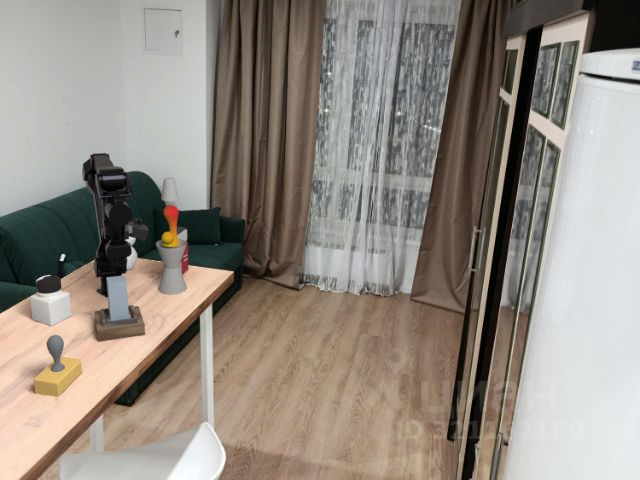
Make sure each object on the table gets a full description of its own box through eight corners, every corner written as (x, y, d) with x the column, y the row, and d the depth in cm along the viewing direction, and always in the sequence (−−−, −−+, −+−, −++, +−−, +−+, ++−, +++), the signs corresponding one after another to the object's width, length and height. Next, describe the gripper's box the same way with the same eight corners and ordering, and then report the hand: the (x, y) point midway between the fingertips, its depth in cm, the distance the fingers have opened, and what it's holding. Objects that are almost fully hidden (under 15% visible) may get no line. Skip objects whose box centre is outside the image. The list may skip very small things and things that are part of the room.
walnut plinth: (95, 321, 162) (93, 307, 161) (139, 315, 167) (138, 302, 165) (98, 341, 152) (97, 327, 151) (145, 334, 157) (144, 320, 155)
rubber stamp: (59, 369, 139) (55, 323, 135) (83, 373, 139) (78, 327, 135) (34, 393, 130) (28, 345, 126) (59, 397, 129) (53, 348, 125)
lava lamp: (170, 280, 190) (166, 173, 178) (193, 286, 187) (191, 177, 175) (151, 290, 182) (146, 179, 171) (175, 297, 179) (171, 183, 167)
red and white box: (175, 282, 189) (174, 238, 184) (163, 280, 190) (161, 236, 185) (189, 269, 199) (188, 227, 194) (177, 268, 200) (176, 225, 195)
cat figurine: (142, 262, 203) (139, 220, 198) (130, 276, 192) (127, 232, 186) (115, 260, 203) (112, 219, 198) (102, 275, 191) (99, 231, 186)
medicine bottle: (72, 316, 164) (68, 276, 160) (51, 326, 158) (46, 285, 154) (53, 310, 167) (49, 270, 163) (32, 320, 161) (27, 279, 157)
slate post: (109, 315, 159) (106, 277, 156) (126, 312, 161) (124, 275, 157) (110, 322, 155) (108, 284, 152) (128, 320, 157) (126, 282, 154)
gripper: (150, 222, 153) (153, 278, 158) (140, 203, 170) (143, 255, 175) (104, 226, 149) (109, 283, 154) (99, 206, 165) (103, 259, 170)
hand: (118, 269), depth 163 cm, fingers open, 9 cm apart
